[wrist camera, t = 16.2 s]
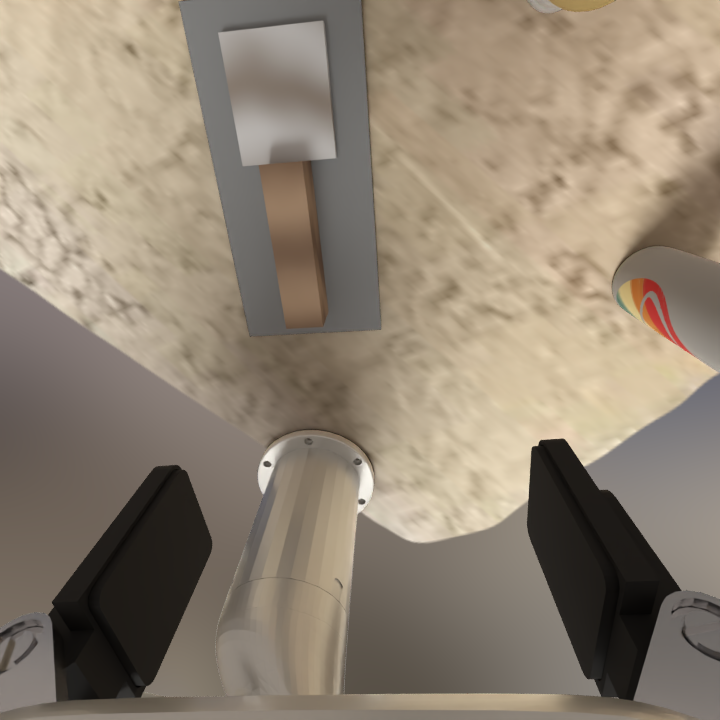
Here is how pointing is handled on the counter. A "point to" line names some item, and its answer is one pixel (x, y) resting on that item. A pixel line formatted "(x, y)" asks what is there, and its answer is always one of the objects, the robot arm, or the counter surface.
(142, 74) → the counter surface
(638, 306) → the lotion bottle
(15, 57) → the counter surface
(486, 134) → the counter surface
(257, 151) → the turner
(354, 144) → the mat
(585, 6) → the light bulb
